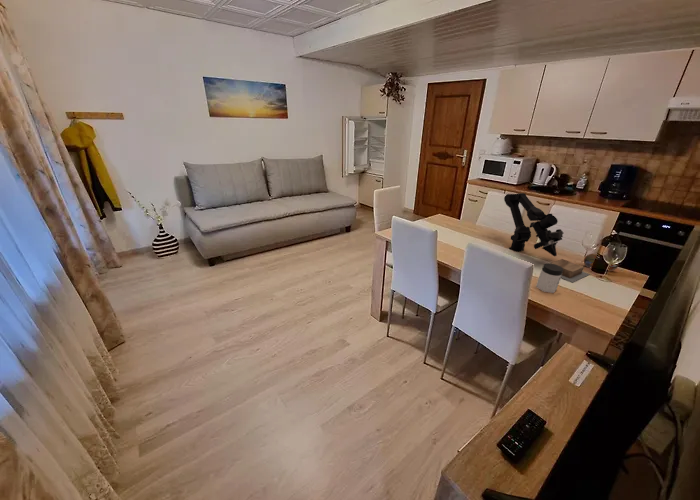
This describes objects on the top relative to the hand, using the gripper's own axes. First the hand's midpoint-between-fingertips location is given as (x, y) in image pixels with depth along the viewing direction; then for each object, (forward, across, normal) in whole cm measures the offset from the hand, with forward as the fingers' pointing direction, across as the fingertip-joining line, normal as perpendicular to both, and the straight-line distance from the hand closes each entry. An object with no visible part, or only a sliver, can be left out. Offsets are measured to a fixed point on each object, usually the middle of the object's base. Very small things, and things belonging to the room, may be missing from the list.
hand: (555, 256), depth 164 cm
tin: (+15, +22, -5) cm, 27 cm away
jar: (+13, -28, -3) cm, 30 cm away
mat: (+11, 0, -2) cm, 11 cm away
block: (+4, 0, +2) cm, 5 cm away
